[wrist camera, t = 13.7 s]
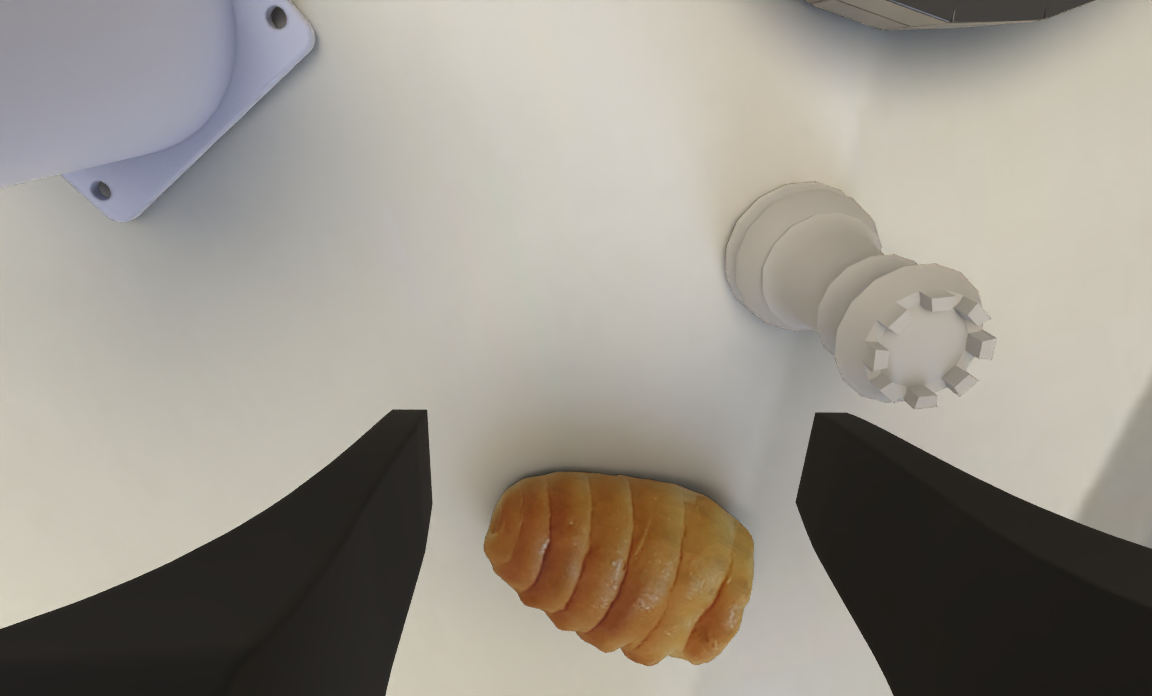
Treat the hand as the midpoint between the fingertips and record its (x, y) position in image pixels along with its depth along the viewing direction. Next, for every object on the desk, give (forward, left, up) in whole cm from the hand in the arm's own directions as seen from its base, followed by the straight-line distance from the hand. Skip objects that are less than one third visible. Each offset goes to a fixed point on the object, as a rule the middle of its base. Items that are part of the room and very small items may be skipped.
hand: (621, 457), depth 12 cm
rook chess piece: (+3, +6, -10) cm, 12 cm away
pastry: (+9, -5, -10) cm, 14 cm away
